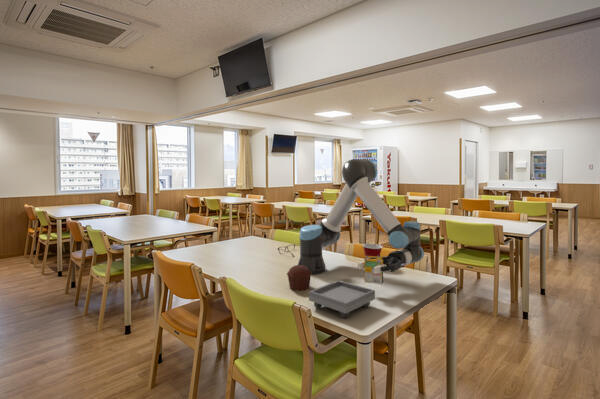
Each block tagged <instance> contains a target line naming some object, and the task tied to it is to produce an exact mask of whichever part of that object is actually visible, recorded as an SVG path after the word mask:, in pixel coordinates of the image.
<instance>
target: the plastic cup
mask: <svg viewBox="0 0 600 399" xmlns="http://www.w3.org/2000/svg"><path fill="white" fill-rule="evenodd" d="M362 247H363V253H364V257H365V256H378V255H380V256H381V253H382V249H383V247H384V246H383V245H380V244H377V243H363V244H362Z"/></svg>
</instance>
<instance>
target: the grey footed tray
mask: <svg viewBox="0 0 600 399" xmlns="http://www.w3.org/2000/svg"><path fill="white" fill-rule="evenodd" d="M375 299H376V290H375V289H371V288H368V287H364V286H360V285H357V284H353V283H349V282H346V281H343V280H336V281H333V282H331V283H328V284H325V285H322V286H320V287H317V288H314V289H312V290H310V291H308V301H310V302H312V303H313V306H314V308H316V309H321V308H322V307H323V306H324V307H326V308H330V309H333V310H334V311H338V312H340V317H341V318H344V319H348V318H349V316H350V312H352V311H354V310H356V309H358V308H360V307H363V308H369V307H370V305H371V304H370V303H371V302H373V301H375ZM320 307H321V308H320ZM347 317H348V318H347Z"/></svg>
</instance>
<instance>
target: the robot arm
mask: <svg viewBox="0 0 600 399" xmlns="http://www.w3.org/2000/svg"><path fill="white" fill-rule="evenodd" d="M341 175H342V179H343V181H344V183H345V185H344V186H343V188H342V190H341V191H340V194H339V195H338V197H337V199H336V200H335V203H334V204H333V206H332V208H331V209H330V212H329V213H328V215H327V216H326V217H325V218H322V220H321V221H320V223H319V224H310V225H309V224H308V225H305V226H302V227H301V228H300V229H299V245H300V246H299V254H300V255H299V260H298V263H297V265H303V266H306V267H307V268H308V269H309V270H310V271H311V273H312V274H311V275H318V274H323V273H325V272H326V269H327V267H326V266H327V265H326V263H325V261H324V257H323V248H326V247H328V246H333V245H335V244H336V243H337V242H338V241H339V240H340V238H341V230H342V227H341V226H342V224H343V222H344V220H345V218H346V217H347V215H348V213H349V212H350V210H351V209H352V208H353V207H352V206H353V205H354V203H355V202H356V200H357V199H358V197H359V199H360V200H361V202H362V203H363V204H364V205H365V207H366V208H367V209H368V211H369V212H370V213H371V215H372V216H373V218H374V219H375V220H376V221H377V223H378V224H379V225H380V227H381V228H382V229H383V231H384V232H385V233H386V235H387V237H388V242H389V244H390V246H391V247H392V248H394V249H397V250H393V251H391V252H389V253H388V255H385V256H382V255H381V254H380V255H378V256H375V257H382V260H383V265H379V266H376V267H374V274H377V273H380V272H383V273H384V272H386V271H387V272H389V271H390V272H392V273H394V272H395V271H397V270H399V269H401V268H405V267H406V266H407V265H411V264H415V263H418V262H420V261H422V260H423V259H424V257H425V251H424V249H423V248H422V246H421V231H422V229H421V224H420V222H418V221H413V220H412V221H411V220H410V221H405V222H403V225H402V223H401V222H400V221H399V220H398V218H397V217H396V215H395V214H394V213H393V212H392V211H391V209H390V208H389V207H388V206H387V204H386V203H385V201H384V200H383V199H382V198H381V196H380V195H379V194H378V193H377V191H376V190H375V188H374V187H373V186H372V185H371V182H373V181H374V180H375V179H376V178H377V176H378V168H377V165H376V163H375V162H373V160H370V159H367V158H362V159H359V158H358V159H356V158H353V159H349V160H347V161H346V162H345V163H344V164H343V166H342V170H341ZM363 259H364V260H363V261H360V262H358V263H357V270H363V269H365V258H363ZM370 259H377V258H374V257H373V258H370Z"/></svg>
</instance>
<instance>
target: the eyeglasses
mask: <svg viewBox="0 0 600 399" xmlns="http://www.w3.org/2000/svg"><path fill="white" fill-rule="evenodd" d="M290 246H293V251H294V250H295V246H299V247H300V244H299V245H298V244H293V243H292V244H289V245H287V246H284V248H285V249H283V251H284V252H288V253H289V254H291V255H292V257H293V258H295V255H294V254H293V253H292V252H290V250H289V247H290ZM280 248H282V246H280V247H278V248H277V250H278V253H281V252H280V251H282V249H280ZM287 250H288V251H287Z"/></svg>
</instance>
